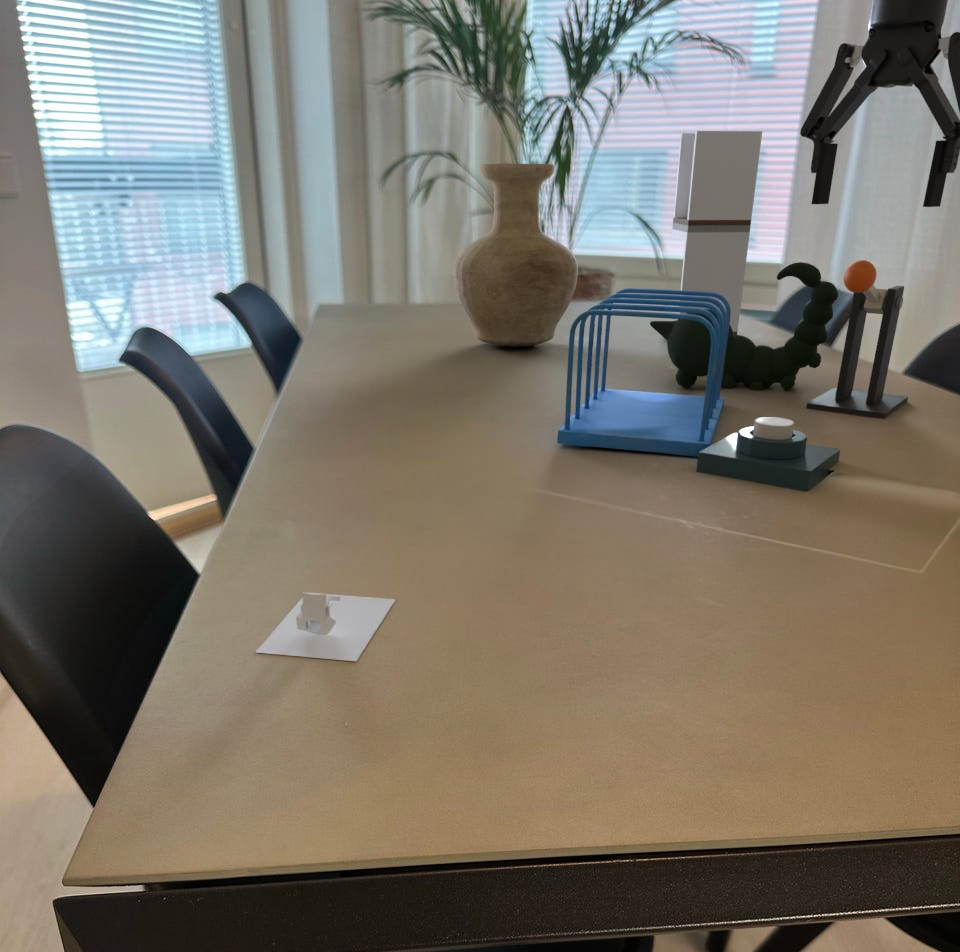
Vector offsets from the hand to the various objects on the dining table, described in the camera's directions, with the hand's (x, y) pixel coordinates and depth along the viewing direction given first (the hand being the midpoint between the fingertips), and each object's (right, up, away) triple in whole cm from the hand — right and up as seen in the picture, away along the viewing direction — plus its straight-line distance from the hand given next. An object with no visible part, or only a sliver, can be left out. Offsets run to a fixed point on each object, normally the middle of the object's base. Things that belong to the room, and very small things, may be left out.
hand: (873, 205), depth 107 cm
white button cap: (-15, -29, -10) cm, 35 cm away
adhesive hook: (-57, -50, -42) cm, 87 cm away
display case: (-4, +7, +70) cm, 70 cm away
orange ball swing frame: (+5, -20, +16) cm, 26 cm away
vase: (-40, +4, +63) cm, 75 cm away
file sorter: (-25, -24, +8) cm, 36 cm away
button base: (-15, -33, -8) cm, 37 cm away
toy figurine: (-9, -14, +28) cm, 33 cm away
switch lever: (+1, -10, +5) cm, 11 cm away
